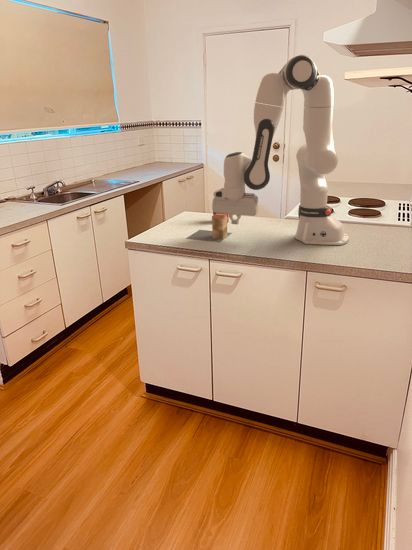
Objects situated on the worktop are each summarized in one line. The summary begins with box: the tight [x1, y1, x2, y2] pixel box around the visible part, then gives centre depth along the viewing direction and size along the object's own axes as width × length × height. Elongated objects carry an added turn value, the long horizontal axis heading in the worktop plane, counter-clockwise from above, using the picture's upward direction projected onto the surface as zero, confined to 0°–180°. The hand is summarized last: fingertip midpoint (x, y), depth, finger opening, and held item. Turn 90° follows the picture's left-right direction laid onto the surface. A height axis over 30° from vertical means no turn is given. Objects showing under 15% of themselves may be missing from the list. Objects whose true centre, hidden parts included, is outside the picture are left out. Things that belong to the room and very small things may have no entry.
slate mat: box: [185, 229, 233, 243], centre depth 187 cm, size 17×14×1 cm
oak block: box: [211, 213, 228, 240], centre depth 182 cm, size 5×5×10 cm
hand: (235, 223), depth 179 cm, fingers closed
